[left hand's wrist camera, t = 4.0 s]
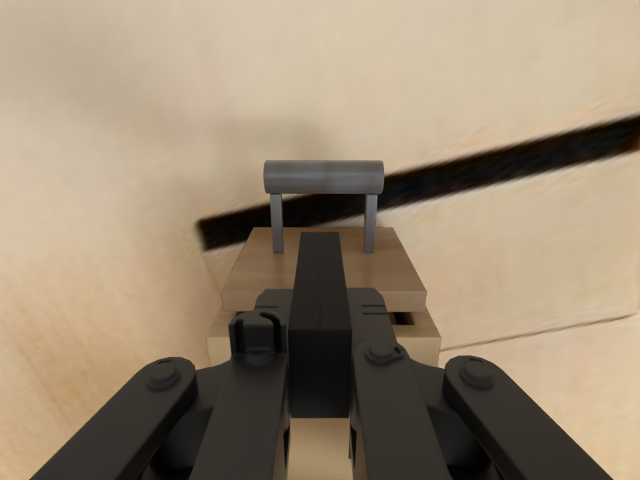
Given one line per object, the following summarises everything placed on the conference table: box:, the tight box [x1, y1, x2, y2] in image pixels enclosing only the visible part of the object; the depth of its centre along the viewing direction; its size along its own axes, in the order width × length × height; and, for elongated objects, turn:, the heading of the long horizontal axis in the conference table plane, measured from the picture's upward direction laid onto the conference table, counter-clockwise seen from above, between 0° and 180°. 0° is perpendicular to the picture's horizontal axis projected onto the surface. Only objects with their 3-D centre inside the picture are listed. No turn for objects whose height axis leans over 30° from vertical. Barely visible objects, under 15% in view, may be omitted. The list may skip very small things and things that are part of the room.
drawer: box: [221, 160, 427, 325], centre depth 24 cm, size 26×10×9 cm, turn 0°
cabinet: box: [206, 305, 441, 480], centre depth 26 cm, size 22×11×11 cm, turn 0°
